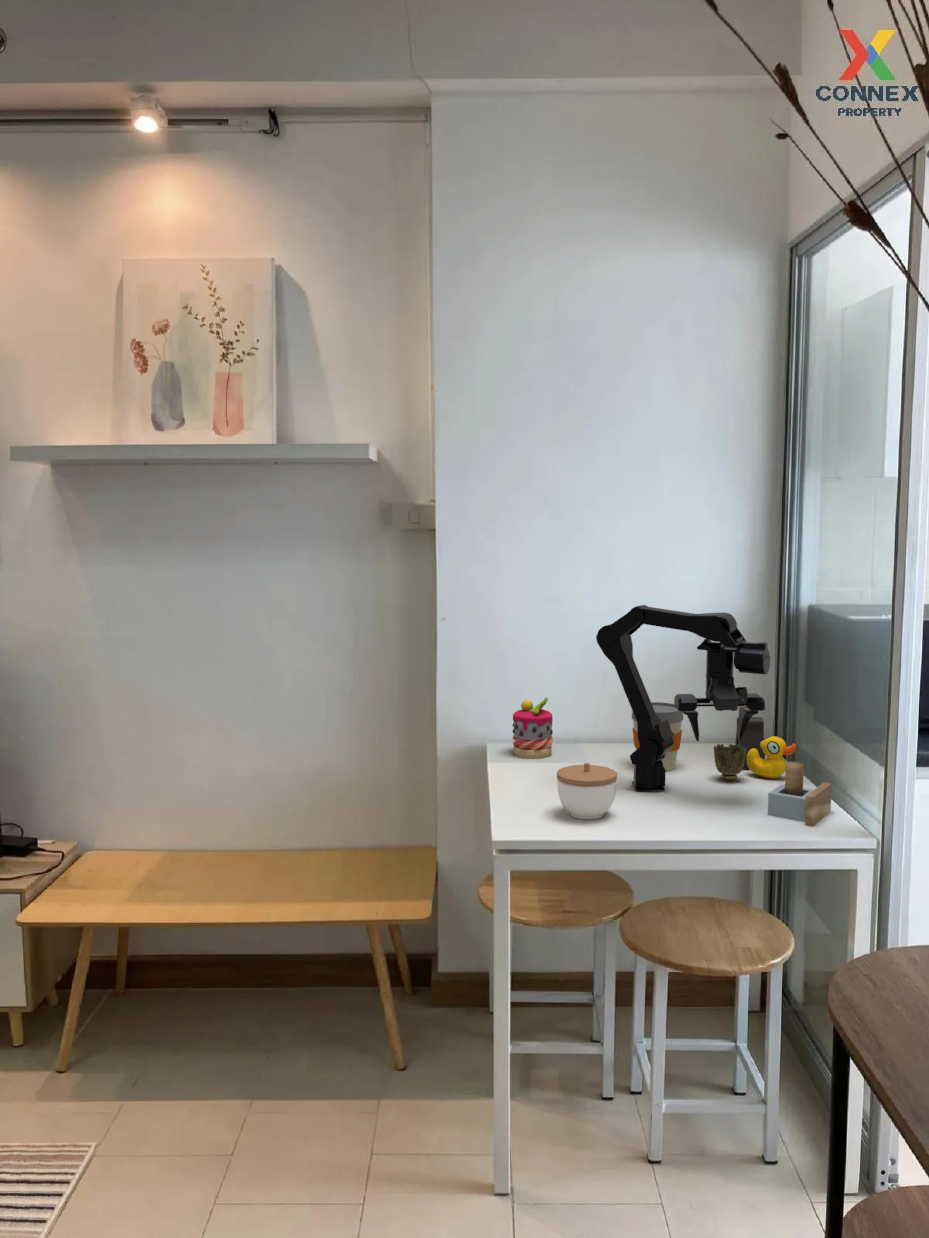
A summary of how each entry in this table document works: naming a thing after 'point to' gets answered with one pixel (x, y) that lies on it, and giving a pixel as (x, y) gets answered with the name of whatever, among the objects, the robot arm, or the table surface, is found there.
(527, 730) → the cake
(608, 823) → the table surface
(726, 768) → the cup
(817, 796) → the backstop board
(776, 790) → the socket block
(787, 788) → the dowel
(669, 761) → the reusable coffee cup
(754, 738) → the phone stand
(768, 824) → the table surface
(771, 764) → the duckling
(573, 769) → the lidded bowl
